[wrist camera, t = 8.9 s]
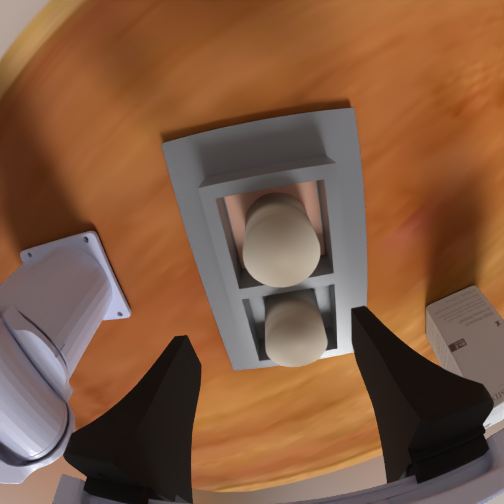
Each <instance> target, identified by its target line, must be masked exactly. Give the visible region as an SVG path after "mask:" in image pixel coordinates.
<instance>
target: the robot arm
mask: <svg viewBox="0 0 504 504" xmlns="http://www.w3.org/2000/svg"><path fill="white" fill-rule="evenodd" d="M85 237H87V238H88V240H89V241H88V240H86V238H85ZM30 253H31V254H30ZM20 258H21V260H22V262H23V264H22V265H21V266H20V267H19V268H18V269H16V270H15V271H14V272H13V273H12V274H11V275H10V276H9V277H8V278H7V279H6V280H5V281H4V282H3V283H2V284H1V285H0V483H6V484H19V483H22V482H23V481H24V480H25V478H26V477H27V476H28V475H30V474H31V473H32V472H33V471H35V470H36V469H38V468H41V467H44V466H46V465H49V464H51V463H52V462H54V461H56V460H57V459H58V458H59V457H60V456H61V455H62V454H63V453H64V454H63V456H64V458H65V460H66V461H67V462H68V463H69V464H70V465H72V466H73V467H74V468H76V469H77V470H78V471H80V472H81V473H83V474H84V475H85V476H87V479H86V482H85V481H83V480H81V479H78V478H75V477H72V476H68V475H65V474H62V476H61V478H60V481H59V485H58V488H57V491H56V494H55V497H54V500H53V503H52V504H193V499H192V485H191V444H192V430H193V423H194V418H195V412H196V407H197V402H198V396H199V391H200V385H201V363H200V361H199V359H198V357H197V355H196V353H195V351H194V349H193V347H192V345H191V342H190V340H189V338H188V336H187V335H183V336H175V337H174V338H173V339H172V341H171V342H170V343H169V345H168V346H167V347H166V349H165V350H164V351H163V353H162V354H161V355H160V357H159V358H158V359H157V361H156V362H155V363H154V364H153V366H152V367H151V368H150V370H149V371H148V372H147V373H146V374H145V375H144V377H143V378H142V379H141V380H140V381H139V383H138V384H137V385H136V386H135V387H134V388H133V389H132V390H131V391H130V392H129V393H128V394H127V395H126V396H125V397H124V398H123V399H122V400H121V401H119V402H118V403H117V404H116V405H115V406H113V407H112V408H111V409H110V410H109V411H107V412H106V413H105V414H103V415H102V416H100V417H99V418H97V419H96V420H94V421H93V422H91V423H90V424H88V425H86V426H85V427H83V428H81V429H79V430H77V431H75V432H74V430H75V415H74V412H73V409H72V408H71V406H70V405H69V403H68V401H69V399H70V397H71V395H72V393H73V389H72V387H71V386H70V384H69V379H70V377H71V375H72V373H73V371H74V370H75V368H76V366H77V364H78V362H79V360H80V358H81V357H82V355H83V353H84V351H85V349H86V348H87V346H88V344H89V342H90V340H91V339H92V337H93V335H94V334H95V332H96V330H97V328H98V327H99V325H100V323H101V322H102V320H110V319H120V318H128V317H130V315H131V309H130V307H129V305H128V303H127V301H126V299H125V297H124V295H123V293H122V291H121V289H120V286H119V284H118V282H117V280H116V278H115V275H114V273H113V271H112V269H111V266H110V264H109V262H108V259H107V257H106V254H105V252H104V250H103V247H102V245H101V242H100V240H99V237H98V235H97V233H96V232H95V231H87V232H84V233H80V234H76V235H73V236H69V237H66V238H62V239H59V240H55V241H52V242H49V243H45V244H42V245H39V246H35V247H32V248H29V249H26V250H23V251H22V252H20ZM120 312H121V313H122V314H121V313H120ZM351 342H352V346H353V350H354V354H355V358H356V362H357V364H358V367H359V370H360V372H361V375H362V378H363V380H364V383H365V385H366V388H367V391H368V393H369V396H370V399H371V402H372V405H373V408H374V412H375V416H376V420H377V425H378V429H379V434H380V439H381V445H382V450H383V456H384V463H385V470H386V478H387V484H384V485H381V486H377V487H373V488H369V489H365V490H361V491H357V492H352V493H348V494H342V495H337V496H332V497H327V498H321V499H313V500H307V501H298V502H289V503H279V504H484V503H486V502H488V501H489V500H491V499H493V498H494V497H496V496H498V495H500V494H501V493H503V492H504V429H502V430H500V431H498V432H497V433H495V434H493V435H492V436H490V437H489V438H487V439H485V437H484V435H483V434H484V433H485V428H484V426H483V423H484V422H485V421H486V419H487V418H488V416H489V415H490V413H491V411H492V410H493V407H494V401H493V399H492V397H491V395H490V394H489V392H488V390H487V389H486V387H485V386H484V385H483V384H482V383H478V382H475V381H472V380H469V379H466V378H464V377H461V376H459V375H456V374H454V373H452V372H450V371H447V370H446V369H444V368H442V367H440V366H438V365H436V364H434V363H432V362H431V361H429V360H428V359H426V358H424V357H423V356H421V355H420V354H418V353H417V352H416V351H414V350H413V349H412V348H410V347H409V346H408V345H406V344H405V343H404V342H403V341H401V340H400V339H399V338H398V337H397V336H396V335H395V334H393V333H392V332H391V331H390V330H389V329H388V328H387V327H386V326H385V325H384V324H383V323H382V322H381V321H380V320H379V319H378V318H377V317H376V316H375V315H374V314H373V313H372V312H371V311H370V310H369V309H368V308H367V307H366V306H365V305H364V306H360V307H355V308H351Z"/></svg>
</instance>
